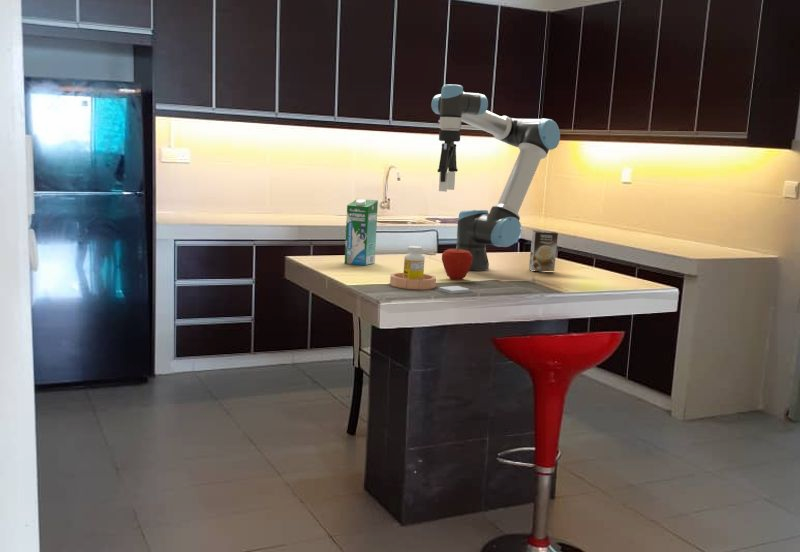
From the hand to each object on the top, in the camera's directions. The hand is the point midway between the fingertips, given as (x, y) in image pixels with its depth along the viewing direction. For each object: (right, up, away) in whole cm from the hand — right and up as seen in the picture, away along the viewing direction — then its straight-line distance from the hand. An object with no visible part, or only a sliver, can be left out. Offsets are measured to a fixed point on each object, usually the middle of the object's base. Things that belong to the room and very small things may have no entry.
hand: (446, 190), depth 275 cm
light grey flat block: (+1, -35, -26) cm, 44 cm away
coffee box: (+40, -29, +35) cm, 60 cm away
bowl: (-12, -34, -19) cm, 41 cm away
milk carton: (-33, -26, +29) cm, 50 cm away
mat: (+1, -36, -26) cm, 44 cm away
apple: (+3, -32, 0) cm, 32 cm away
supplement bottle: (-12, -34, -19) cm, 41 cm away
